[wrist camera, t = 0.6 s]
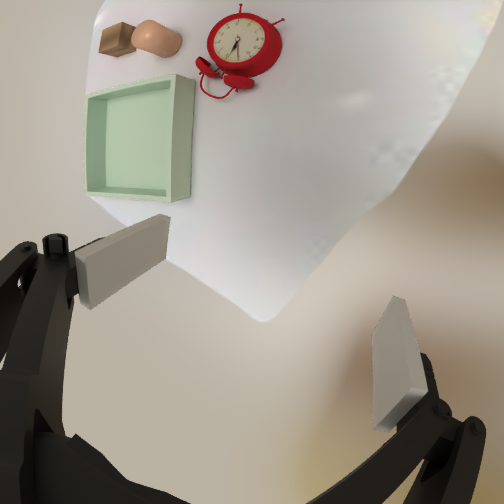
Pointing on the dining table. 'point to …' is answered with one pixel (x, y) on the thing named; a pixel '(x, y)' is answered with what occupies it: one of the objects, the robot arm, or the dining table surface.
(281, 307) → the dining table surface
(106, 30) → the walnut cube
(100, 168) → the tray
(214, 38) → the alarm clock
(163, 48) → the terracotta canister
